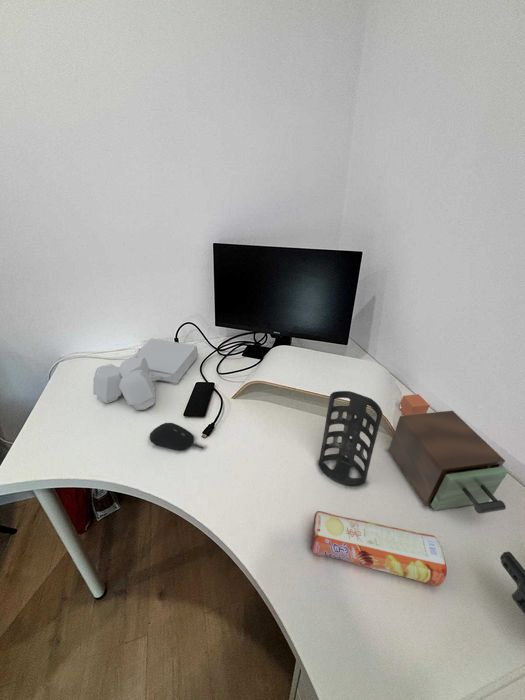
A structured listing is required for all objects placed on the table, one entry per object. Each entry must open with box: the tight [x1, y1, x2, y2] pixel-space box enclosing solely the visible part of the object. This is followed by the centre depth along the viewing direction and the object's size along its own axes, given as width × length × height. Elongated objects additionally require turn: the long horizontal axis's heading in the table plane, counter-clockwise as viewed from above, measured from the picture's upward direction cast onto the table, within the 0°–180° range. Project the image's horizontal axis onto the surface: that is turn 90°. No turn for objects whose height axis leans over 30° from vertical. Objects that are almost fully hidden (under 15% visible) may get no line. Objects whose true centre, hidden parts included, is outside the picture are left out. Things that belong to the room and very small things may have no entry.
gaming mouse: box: [149, 422, 204, 451], centre depth 74 cm, size 6×15×4 cm, turn 72°
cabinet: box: [388, 410, 506, 507], centre depth 65 cm, size 15×14×12 cm
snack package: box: [310, 510, 448, 587], centre depth 51 cm, size 21×7×7 cm, turn 76°
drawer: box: [430, 465, 509, 515], centre depth 61 cm, size 18×12×10 cm
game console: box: [92, 338, 199, 411], centre depth 95 cm, size 20×32×13 cm, turn 164°
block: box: [400, 393, 430, 416], centre depth 84 cm, size 5×5×5 cm
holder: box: [318, 390, 384, 487], centre depth 64 cm, size 11×8×20 cm
